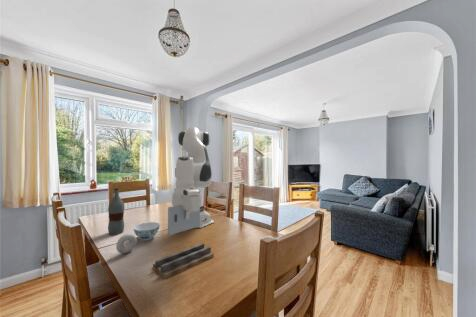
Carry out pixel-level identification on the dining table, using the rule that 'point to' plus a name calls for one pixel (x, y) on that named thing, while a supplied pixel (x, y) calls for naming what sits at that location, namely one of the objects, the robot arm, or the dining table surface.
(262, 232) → the dining table surface
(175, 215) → the door panel
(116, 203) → the bottle
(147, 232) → the chinaware
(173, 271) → the track base
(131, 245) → the donut
